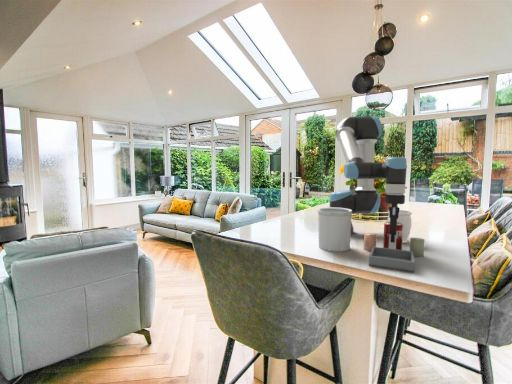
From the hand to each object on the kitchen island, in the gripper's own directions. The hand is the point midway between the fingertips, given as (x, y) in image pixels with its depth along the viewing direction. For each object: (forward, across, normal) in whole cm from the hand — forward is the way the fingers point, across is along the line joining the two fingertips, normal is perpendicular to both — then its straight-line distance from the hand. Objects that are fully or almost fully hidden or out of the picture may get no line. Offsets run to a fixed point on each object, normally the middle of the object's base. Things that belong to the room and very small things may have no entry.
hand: (392, 247), depth 119 cm
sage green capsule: (+2, 0, -9) cm, 9 cm away
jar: (+3, +22, -2) cm, 22 cm away
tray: (+2, -15, 0) cm, 15 cm away
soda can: (+2, 0, 0) cm, 2 cm away
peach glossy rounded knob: (+2, 0, +9) cm, 9 cm away
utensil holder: (+3, -4, +24) cm, 24 cm away
